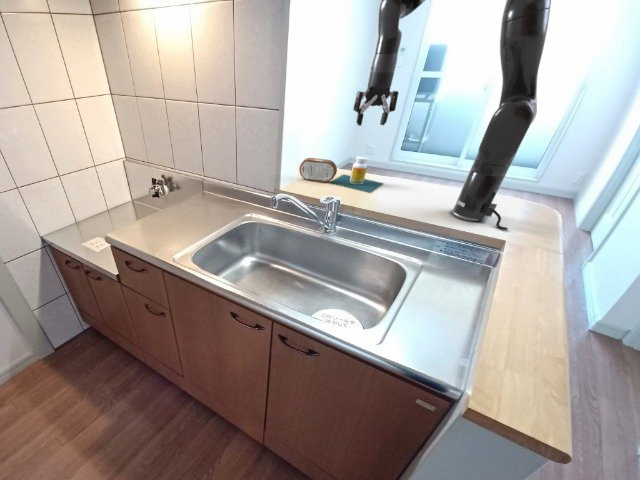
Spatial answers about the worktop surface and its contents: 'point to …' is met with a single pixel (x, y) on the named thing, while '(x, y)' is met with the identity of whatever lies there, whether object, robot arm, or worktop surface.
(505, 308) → the worktop surface
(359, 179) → the supplement bottle
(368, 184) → the mat
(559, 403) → the worktop surface
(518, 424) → the worktop surface
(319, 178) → the tin
